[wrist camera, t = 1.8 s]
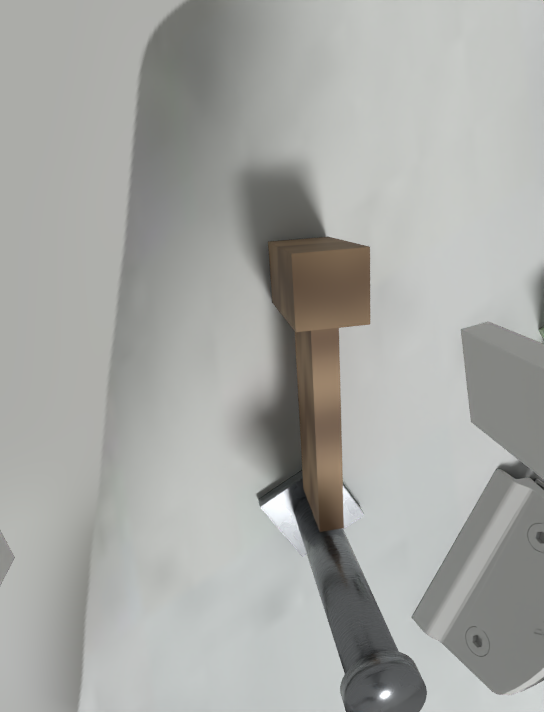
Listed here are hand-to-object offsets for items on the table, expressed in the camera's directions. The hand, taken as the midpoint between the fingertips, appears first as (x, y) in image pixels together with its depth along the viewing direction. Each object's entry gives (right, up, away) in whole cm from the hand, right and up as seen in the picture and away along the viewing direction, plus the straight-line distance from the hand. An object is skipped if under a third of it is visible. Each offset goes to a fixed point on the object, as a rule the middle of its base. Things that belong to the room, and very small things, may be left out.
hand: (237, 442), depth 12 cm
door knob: (+4, -10, +26) cm, 28 cm away
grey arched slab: (+20, -15, +31) cm, 40 cm away
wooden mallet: (+3, +1, +22) cm, 22 cm away
